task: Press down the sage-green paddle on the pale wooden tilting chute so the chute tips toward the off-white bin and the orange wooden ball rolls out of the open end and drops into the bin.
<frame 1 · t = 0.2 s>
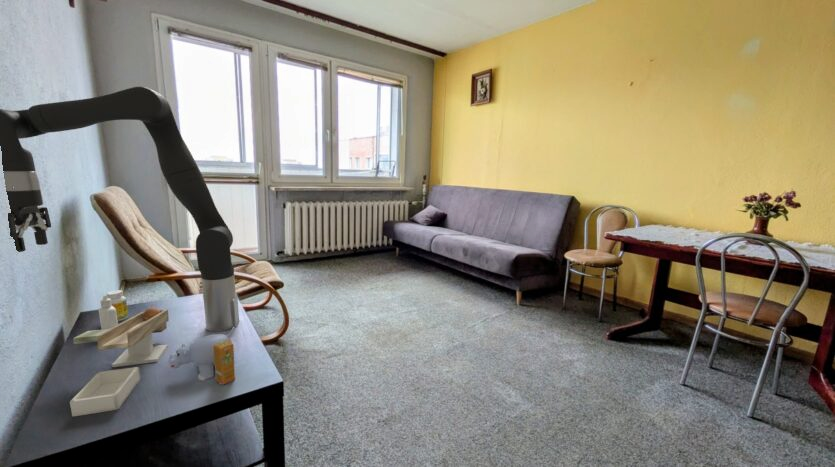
hand: (31, 247, 95), 29 cm above the table, tool pointing down, fingers open, 8 cm apart
supplement bottle: (118, 319, 117), on the table
chute stand: (141, 356, 95), on the table
tilting chute: (124, 332, 93), point 8 cm above the table, hinge at 10.0°, touching ball
supplement box: (226, 381, 86), on the table
bin: (109, 396, 79), on the table
hippopotamus toy: (206, 369, 91), on the table
eye dropper bottle: (110, 332, 108), on the table
ball: (152, 314, 103), point 8 cm above the table, tilted 10°, touching tilting chute
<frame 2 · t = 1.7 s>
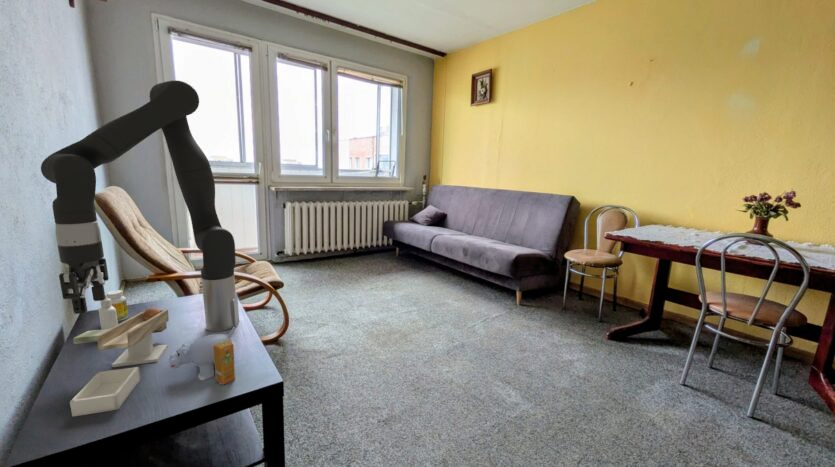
hand: (90, 306, 84), 18 cm above the table, tool pointing down, fingers open, 7 cm apart
nothing on the table moved.
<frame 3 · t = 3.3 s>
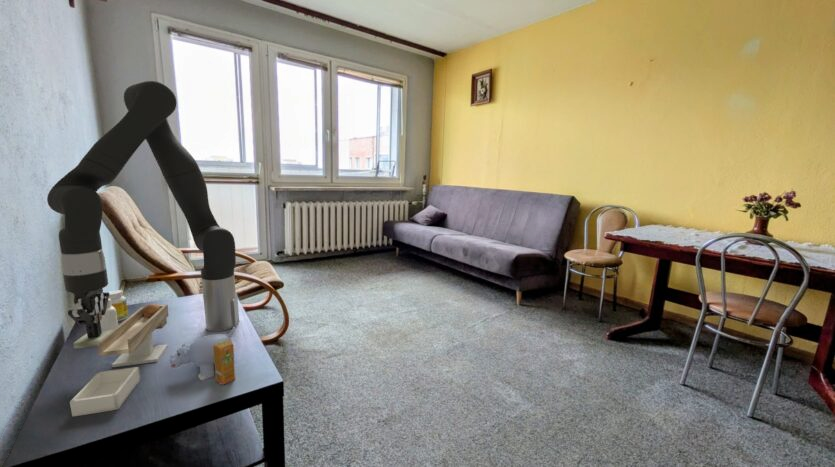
hand: (95, 336, 86), 10 cm above the table, tool pointing down, fingers closed
tilting chute: (124, 332, 93), point 8 cm above the table, hinge at 2.6°, touching ball, gripper
ball: (151, 310, 102), point 10 cm above the table, touching tilting chute
everything else where it was.
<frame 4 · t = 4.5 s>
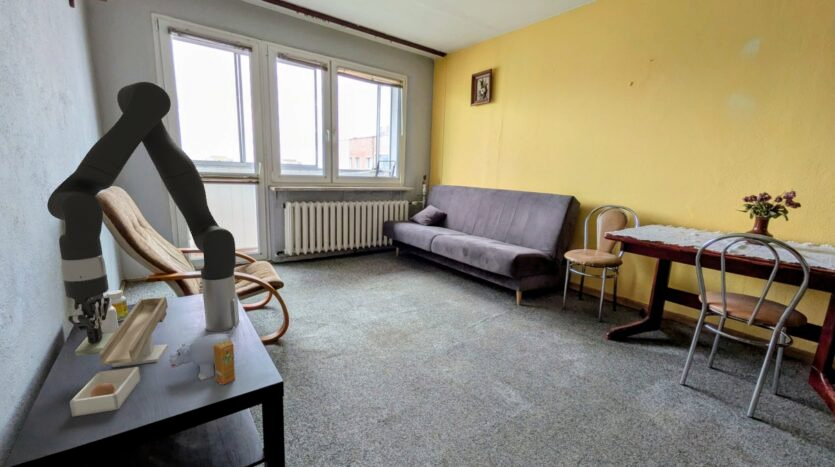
hand: (95, 341, 86), 9 cm above the table, tool pointing down, fingers closed
tilting chute: (125, 331, 93), point 8 cm above the table, hinge at -10.5°, touching gripper
ball: (102, 392, 77), point 2 cm above the table, tilted 163°, touching bin
everything else where it was.
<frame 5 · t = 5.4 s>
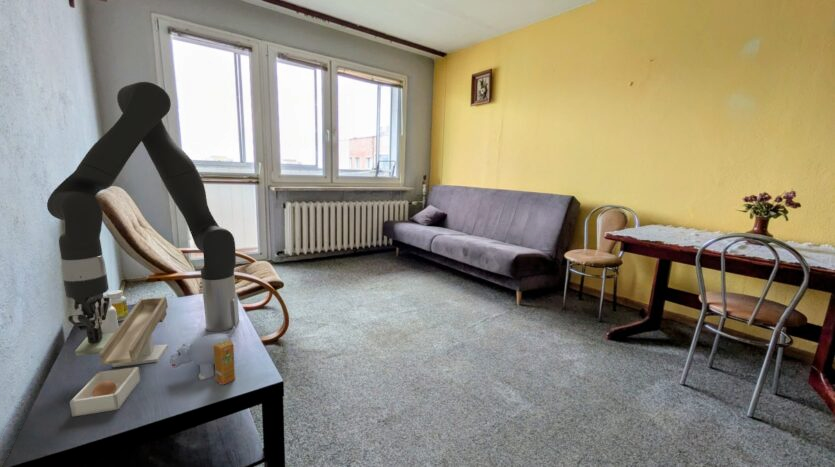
hand: (95, 341, 86), 9 cm above the table, tool pointing down, fingers closed
tilting chute: (125, 331, 93), point 8 cm above the table, hinge at -10.5°
ball: (104, 390, 77), point 2 cm above the table, tilted 176°, touching bin
everything else where it was.
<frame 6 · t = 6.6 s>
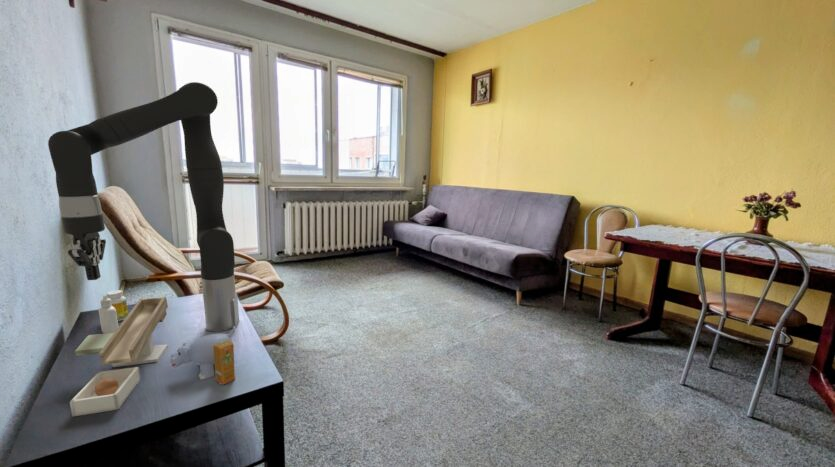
hand: (94, 279, 90), 22 cm above the table, tool pointing down, fingers closed
ball: (106, 387, 78), point 2 cm above the table, tilted 147°, touching bin
everything else where it was.
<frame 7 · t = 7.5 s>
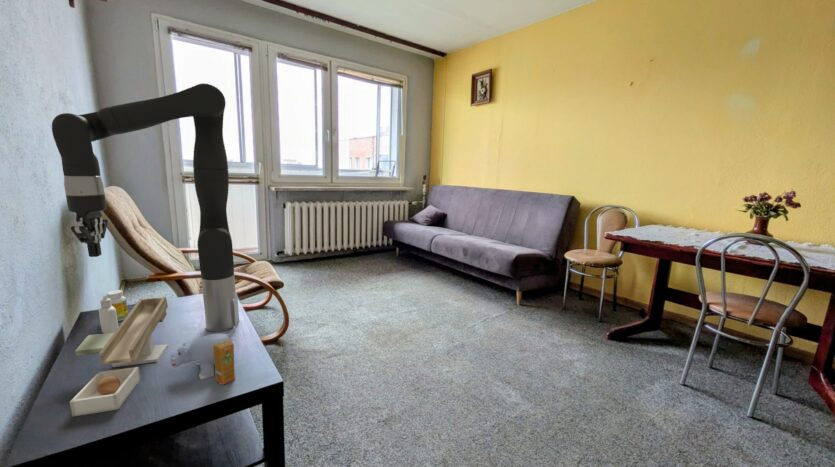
hand: (95, 256, 95), 27 cm above the table, tool pointing down, fingers closed
ball: (108, 385, 79), point 2 cm above the table, tilted 125°, touching bin
everything else where it was.
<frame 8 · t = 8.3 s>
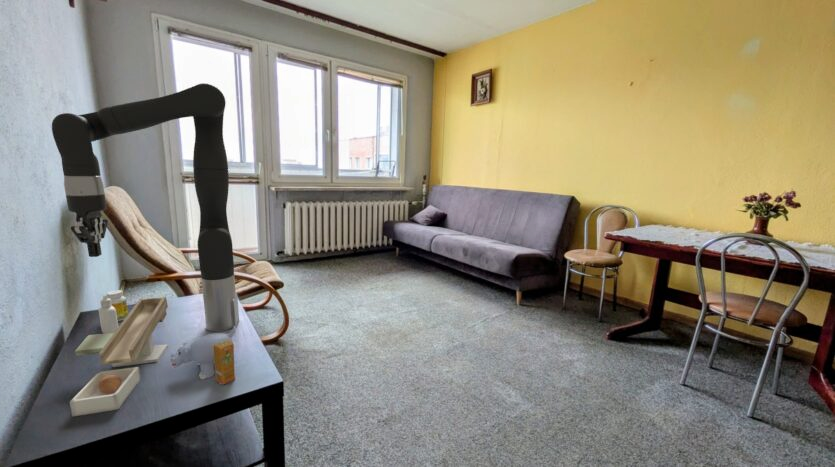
hand: (95, 256, 95), 27 cm above the table, tool pointing down, fingers closed
ball: (110, 383, 80), point 2 cm above the table, tilted 106°, touching bin
everything else where it was.
at the end: ball inside the target area (1.2 cm from its centre), point 2.5 cm above the table; tilting chute at -10° (first picture: +10°) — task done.
